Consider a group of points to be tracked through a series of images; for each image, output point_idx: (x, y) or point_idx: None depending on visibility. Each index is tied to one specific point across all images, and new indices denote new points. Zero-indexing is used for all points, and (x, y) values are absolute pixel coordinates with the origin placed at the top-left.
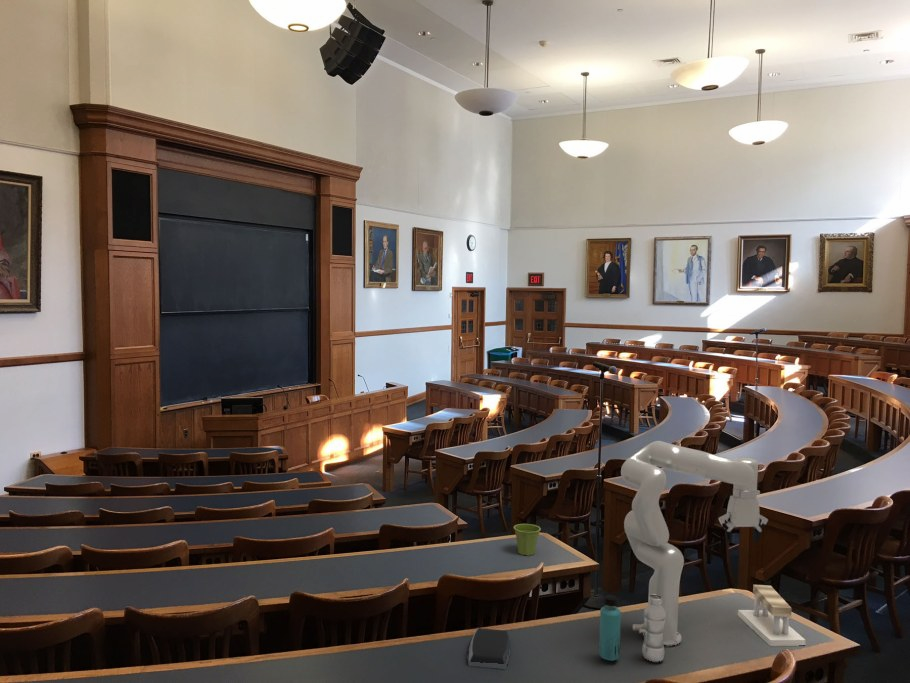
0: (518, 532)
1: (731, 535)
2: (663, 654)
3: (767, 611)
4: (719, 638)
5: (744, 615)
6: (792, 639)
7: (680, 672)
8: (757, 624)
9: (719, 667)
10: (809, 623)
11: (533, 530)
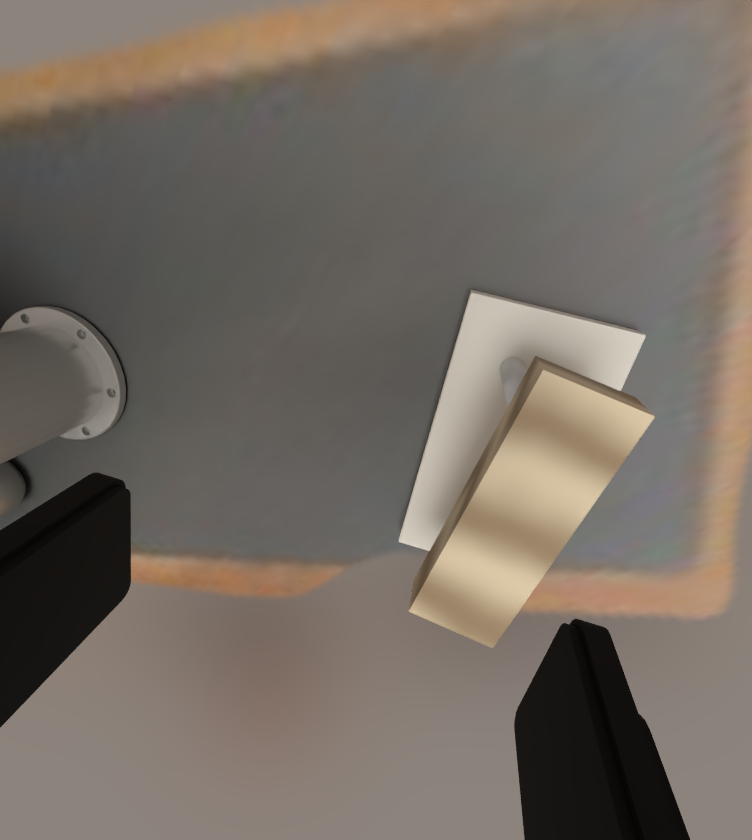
0: None
1: (14, 697)
2: (5, 513)
3: None
4: (261, 435)
5: (455, 352)
6: None
7: None
8: (447, 437)
9: (170, 561)
10: (747, 447)
11: None
